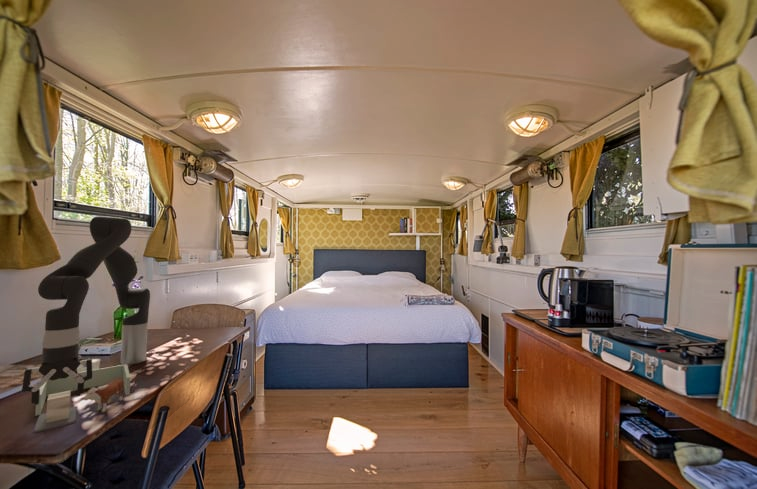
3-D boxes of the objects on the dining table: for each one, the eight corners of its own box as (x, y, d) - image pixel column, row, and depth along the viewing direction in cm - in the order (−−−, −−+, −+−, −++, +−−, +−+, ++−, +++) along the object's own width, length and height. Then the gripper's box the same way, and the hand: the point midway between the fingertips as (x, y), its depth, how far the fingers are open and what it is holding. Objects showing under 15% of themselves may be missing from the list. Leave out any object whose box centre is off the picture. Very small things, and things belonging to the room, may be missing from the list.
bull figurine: (79, 418, 91) (80, 390, 91) (114, 398, 104) (116, 373, 105) (94, 418, 91) (96, 390, 91) (128, 398, 104) (129, 373, 105)
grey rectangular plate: (39, 416, 92) (39, 414, 92) (77, 407, 97) (77, 406, 97) (33, 433, 83) (33, 431, 83) (75, 422, 89) (75, 420, 89)
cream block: (47, 417, 91) (48, 394, 91) (69, 411, 94) (70, 390, 94) (45, 423, 87) (47, 400, 88) (68, 417, 90) (70, 395, 91)
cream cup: (76, 384, 115) (77, 365, 116) (74, 379, 120) (75, 361, 120) (100, 379, 120) (101, 361, 121) (98, 374, 125) (99, 357, 125)
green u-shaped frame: (42, 396, 105) (44, 378, 106) (126, 379, 120) (126, 364, 120) (35, 415, 92) (36, 395, 92) (129, 394, 107) (130, 377, 107)
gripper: (94, 337, 99) (91, 388, 98) (27, 345, 89) (23, 402, 89) (94, 341, 93) (91, 396, 93) (22, 351, 84) (19, 412, 83)
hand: (58, 399), depth 91 cm, fingers open, 8 cm apart
